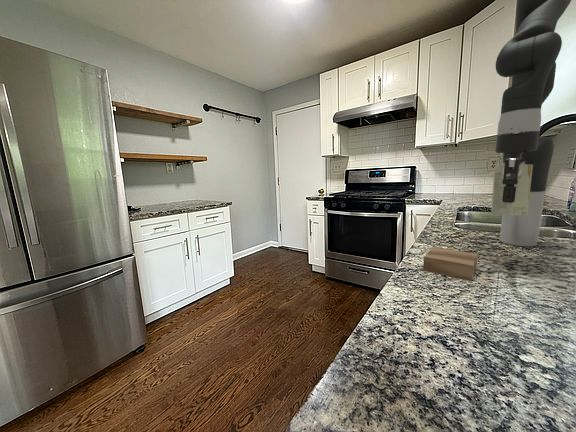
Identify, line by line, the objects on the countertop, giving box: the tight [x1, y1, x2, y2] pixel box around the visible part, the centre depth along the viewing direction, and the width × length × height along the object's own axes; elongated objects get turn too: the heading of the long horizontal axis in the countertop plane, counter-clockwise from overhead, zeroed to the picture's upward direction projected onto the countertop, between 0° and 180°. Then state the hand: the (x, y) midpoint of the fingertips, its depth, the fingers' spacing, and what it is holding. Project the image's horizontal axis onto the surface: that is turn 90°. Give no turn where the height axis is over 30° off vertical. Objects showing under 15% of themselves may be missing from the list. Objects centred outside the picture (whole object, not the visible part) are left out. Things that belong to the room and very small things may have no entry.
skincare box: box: [490, 164, 533, 216], centre depth 62 cm, size 6×4×12 cm
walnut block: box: [422, 246, 479, 282], centre depth 63 cm, size 10×10×4 cm
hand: (509, 200), depth 62 cm, fingers closed on skincare box, 7 cm apart
